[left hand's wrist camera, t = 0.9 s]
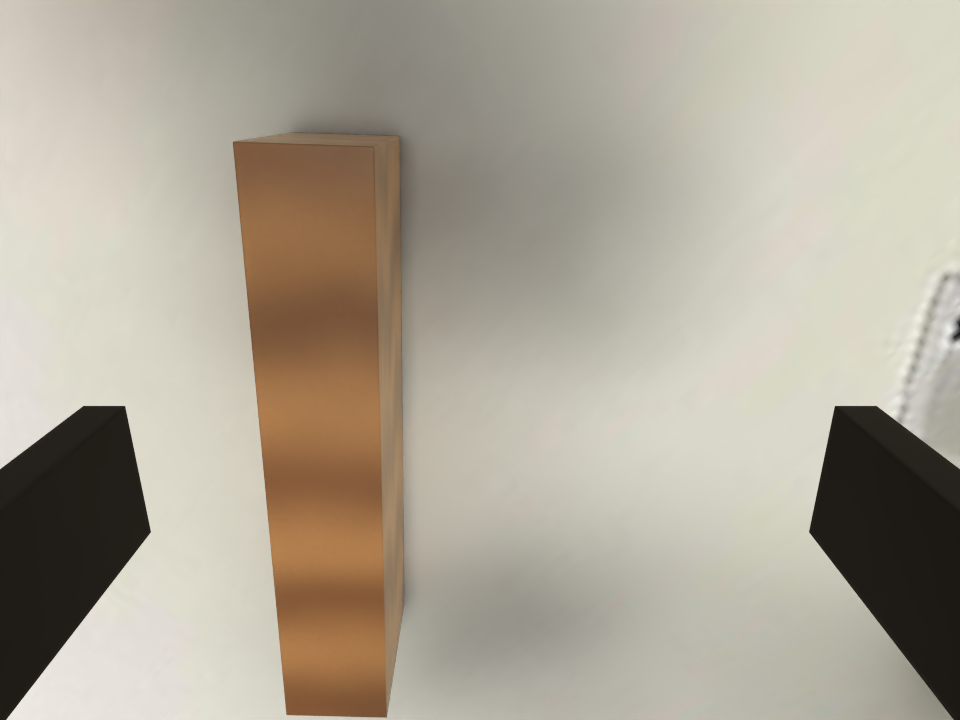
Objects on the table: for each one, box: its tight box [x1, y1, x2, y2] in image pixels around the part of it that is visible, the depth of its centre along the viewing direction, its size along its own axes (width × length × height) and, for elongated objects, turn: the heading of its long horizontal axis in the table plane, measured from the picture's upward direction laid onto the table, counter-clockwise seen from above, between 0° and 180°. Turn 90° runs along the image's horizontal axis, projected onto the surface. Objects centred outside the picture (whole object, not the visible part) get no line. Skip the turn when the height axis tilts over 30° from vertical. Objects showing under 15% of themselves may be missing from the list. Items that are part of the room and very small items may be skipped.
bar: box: [233, 132, 404, 717], centre depth 33 cm, size 28×5×8 cm, turn 178°
